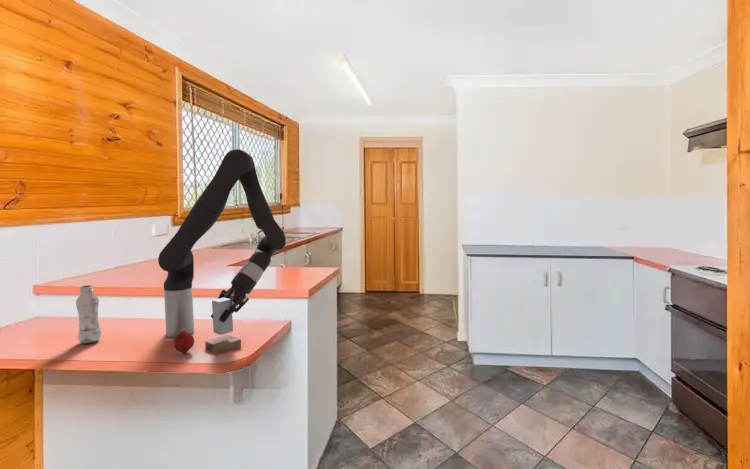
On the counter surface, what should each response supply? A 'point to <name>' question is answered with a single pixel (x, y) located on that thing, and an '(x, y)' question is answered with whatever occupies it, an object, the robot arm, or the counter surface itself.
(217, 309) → the pillar
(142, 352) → the counter surface
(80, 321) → the plastic bottle
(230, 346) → the base slab
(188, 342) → the onion
